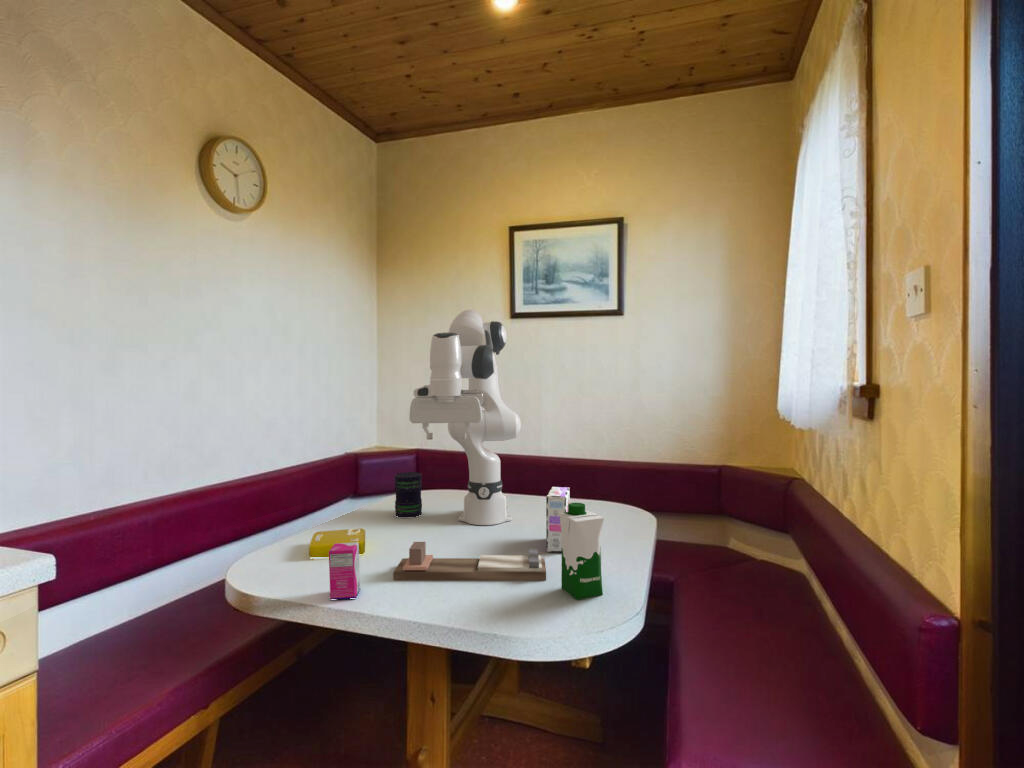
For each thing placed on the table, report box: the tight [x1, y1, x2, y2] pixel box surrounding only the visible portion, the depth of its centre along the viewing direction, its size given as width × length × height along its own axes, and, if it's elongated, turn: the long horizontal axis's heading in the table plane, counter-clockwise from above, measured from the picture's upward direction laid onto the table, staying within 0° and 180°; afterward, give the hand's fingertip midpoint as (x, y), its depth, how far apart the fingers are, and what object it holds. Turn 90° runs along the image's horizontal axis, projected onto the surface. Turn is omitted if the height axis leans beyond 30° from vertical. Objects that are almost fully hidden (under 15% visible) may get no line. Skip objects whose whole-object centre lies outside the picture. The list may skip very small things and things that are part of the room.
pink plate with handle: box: [403, 541, 434, 570], centre depth 134 cm, size 9×6×5 cm, turn 179°
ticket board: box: [392, 548, 547, 581], centre depth 134 cm, size 10×38×5 cm, turn 89°
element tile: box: [308, 527, 366, 557], centre depth 153 cm, size 15×15×5 cm
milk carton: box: [559, 502, 605, 601], centre depth 122 cm, size 9×9×20 cm
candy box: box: [545, 486, 571, 554], centre depth 156 cm, size 14×6×16 cm, turn 168°
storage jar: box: [394, 471, 423, 518], centre depth 193 cm, size 10×10×15 cm
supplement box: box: [328, 542, 361, 599], centre depth 121 cm, size 6×6×12 cm
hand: (446, 439), depth 146 cm, fingers open, 8 cm apart
